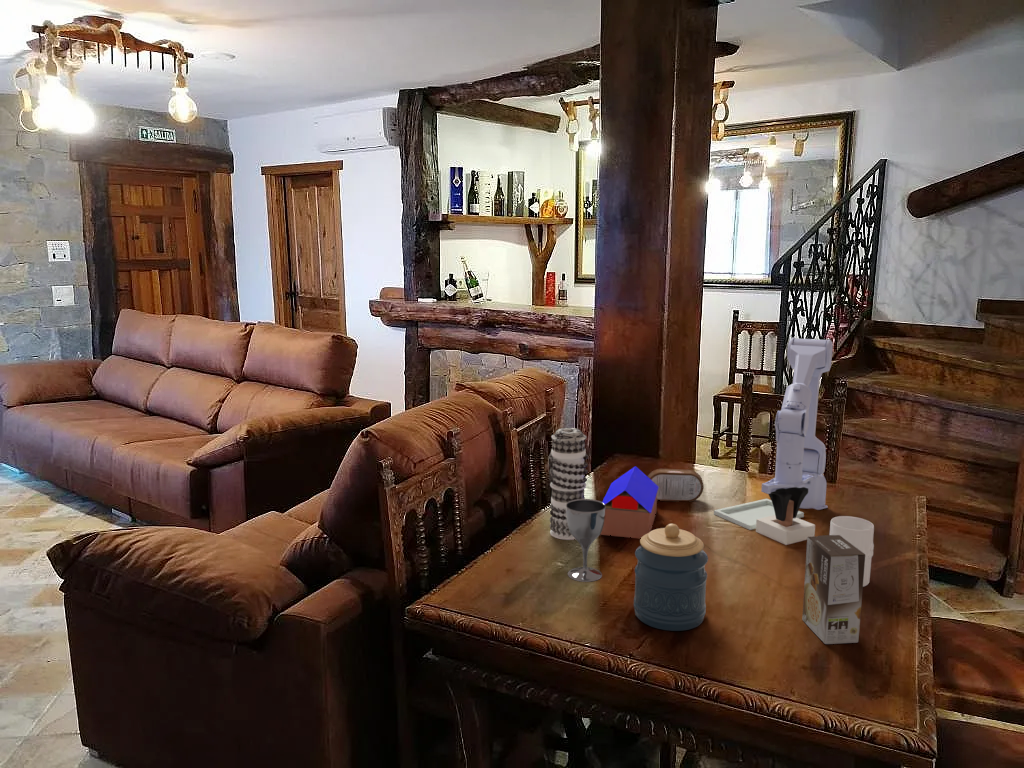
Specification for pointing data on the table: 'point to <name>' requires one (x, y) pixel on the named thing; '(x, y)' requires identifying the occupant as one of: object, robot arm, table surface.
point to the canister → (670, 579)
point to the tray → (749, 513)
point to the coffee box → (833, 589)
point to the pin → (788, 515)
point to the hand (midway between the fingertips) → (785, 518)
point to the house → (630, 505)
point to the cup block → (785, 530)
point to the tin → (677, 484)
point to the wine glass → (585, 532)
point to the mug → (856, 537)
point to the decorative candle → (566, 477)
